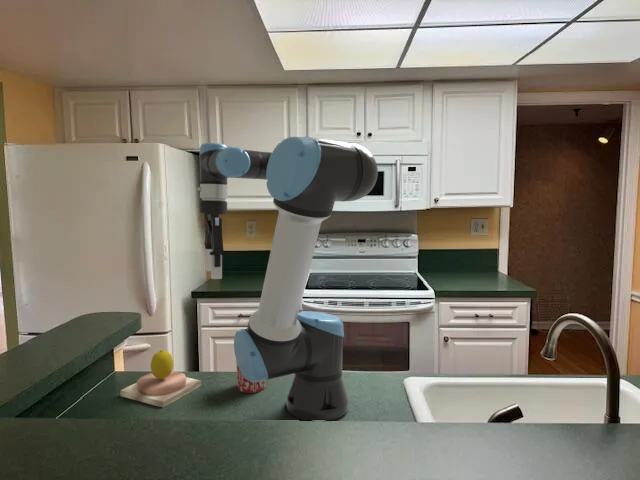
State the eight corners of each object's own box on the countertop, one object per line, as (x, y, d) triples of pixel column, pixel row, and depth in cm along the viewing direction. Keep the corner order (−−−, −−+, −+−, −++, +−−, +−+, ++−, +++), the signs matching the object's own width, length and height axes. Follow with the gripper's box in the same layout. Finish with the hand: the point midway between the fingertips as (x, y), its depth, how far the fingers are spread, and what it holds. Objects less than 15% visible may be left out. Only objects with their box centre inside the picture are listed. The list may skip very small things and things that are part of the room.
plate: (201, 385, 118) (201, 375, 118) (163, 407, 105) (163, 395, 105) (160, 376, 123) (160, 366, 123) (120, 396, 111) (120, 384, 110)
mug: (250, 398, 111) (250, 346, 110) (227, 388, 117) (227, 338, 116) (284, 383, 121) (285, 335, 120) (261, 374, 127) (262, 328, 126)
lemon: (165, 373, 118) (165, 344, 117) (177, 379, 114) (177, 349, 114) (146, 380, 113) (146, 350, 113) (158, 386, 110) (158, 355, 109)
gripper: (195, 199, 133) (195, 268, 135) (205, 199, 110) (204, 283, 112) (220, 199, 136) (219, 267, 138) (235, 200, 113) (234, 281, 114)
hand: (213, 274), depth 125 cm, fingers open, 13 cm apart
